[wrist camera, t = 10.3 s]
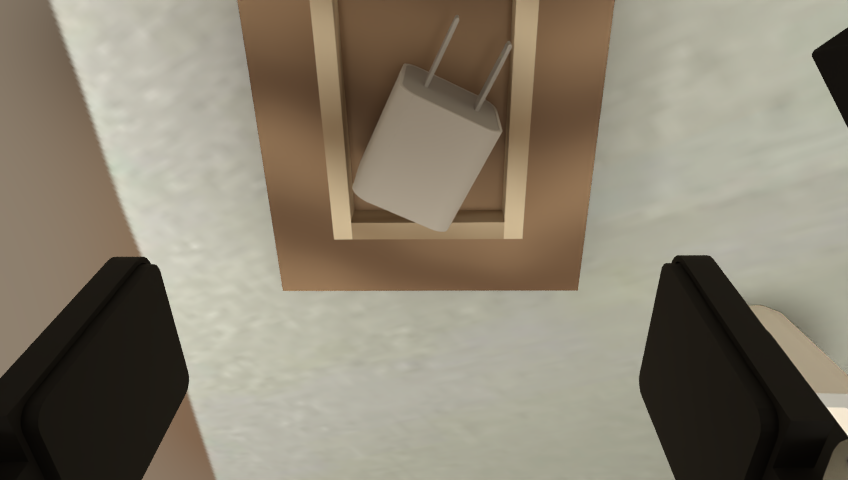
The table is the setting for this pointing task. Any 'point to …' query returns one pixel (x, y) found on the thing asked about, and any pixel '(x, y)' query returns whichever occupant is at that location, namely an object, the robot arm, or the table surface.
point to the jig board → (362, 107)
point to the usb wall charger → (429, 144)
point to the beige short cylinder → (809, 362)
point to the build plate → (835, 69)
